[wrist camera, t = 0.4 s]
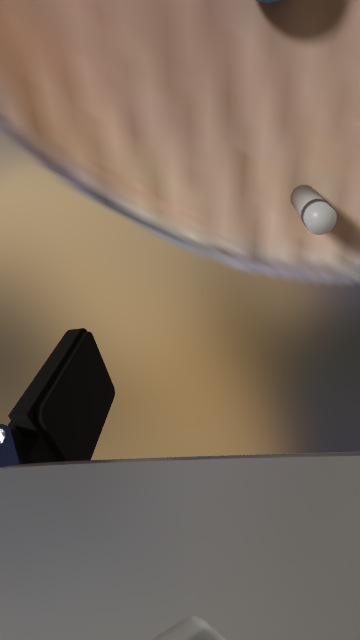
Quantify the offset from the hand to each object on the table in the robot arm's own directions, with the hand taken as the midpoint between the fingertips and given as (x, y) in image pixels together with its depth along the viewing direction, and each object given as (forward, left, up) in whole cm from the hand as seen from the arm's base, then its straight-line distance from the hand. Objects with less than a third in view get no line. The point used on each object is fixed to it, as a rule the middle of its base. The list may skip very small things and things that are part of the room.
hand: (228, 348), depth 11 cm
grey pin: (-3, +7, -29) cm, 30 cm away
